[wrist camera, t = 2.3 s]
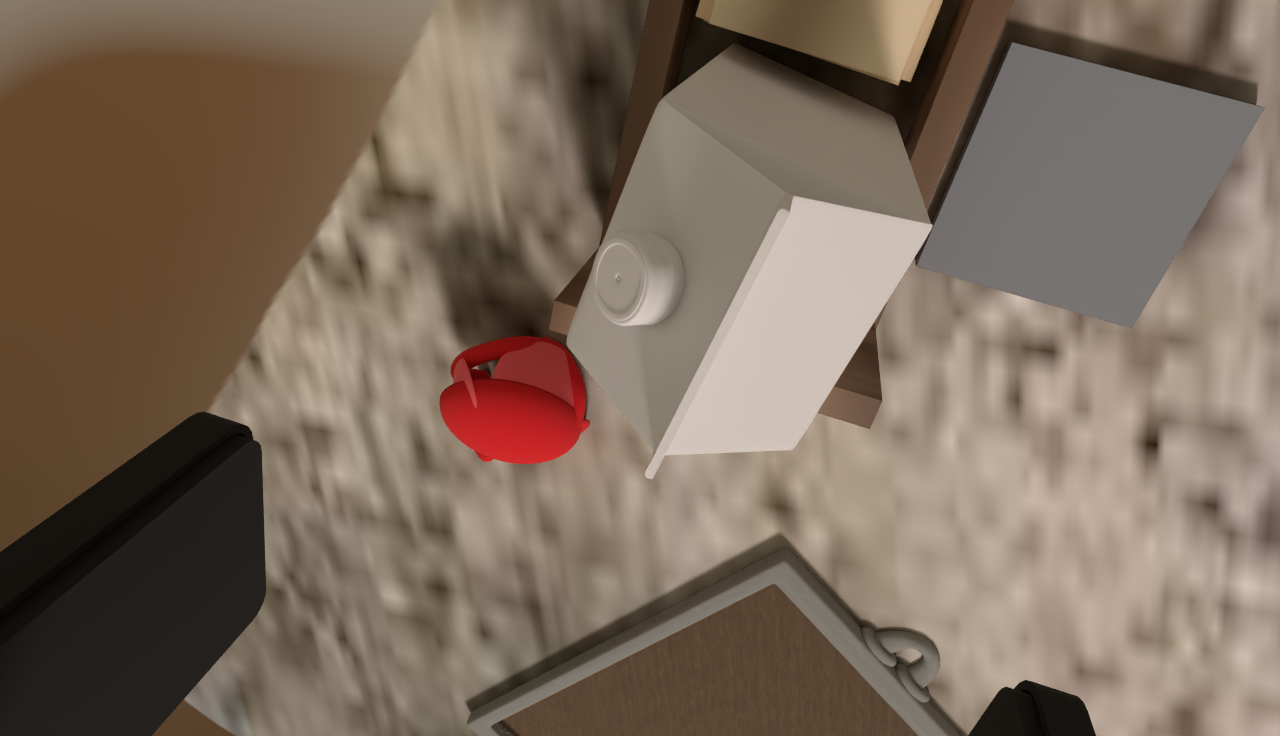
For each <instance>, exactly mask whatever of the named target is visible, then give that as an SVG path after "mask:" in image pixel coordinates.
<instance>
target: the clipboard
mask: <svg viewBox="0 0 1280 736" xmlns="http://www.w3.org/2000/svg"><path fill="white" fill-rule="evenodd" d="M906 648H913V649H916V650H918V651H919V652H921V654H922V655H923V658H922V660H921V661H919V662H918V663H916V664H914V665H912V666H910V667H906V666H905V665H904V664H901V663H897V660H896V656H895V654H894V652H897V651H899V650H902V649H906ZM939 667H940V657H939V653H938V650H937V649H936V647H935V646H934V644H932V643H931V642H930V641H929V640H928V639H926V638H924V637H922V636H920V635H917V634H914V633H912V632H906V631H895V630H893V631H882V632H876V633H875V632H874V631H873V630H872V629H871V628H869V627H866V626H864V627H862V628H861V627H860V626H859V625H858V624H857V623H856V622H855V621H854V620H853V618H852V617H851V616H850V615H849V614H848V613H847V612H846V611H845V610H844V609H843V608H842V607H841V605H840V604H839V603H838V602H837V601H836V600H835V599H834V598H833V597H832V596H831V595H830V593H829V592H828V591H827V590H826V589H825V588H824V587H823V586H822V585H821V584H820V583H819V582H818V580H817V579H816V578H815V577H814V576H813V575H812V574H811V573H810V572H809V571H808V570H807V568H806V567H805V566H804V565H803V564H802V563H801V562H800V561H799V560H798V559H797V558H796V557H795V556H794V554H793V553H792V552H791V551H790V550H789V549H788V548H785V547H784V548H782V549H780V550H778V551H776V552H774V553H772V554H770V555H768V556H766V557H764V558H762V559H761V560H759V561H757V562H755V563H753V564H751V565H749V566H747V567H745V568H743V569H741V570H740V571H738V572H736V573H734V574H732V575H730V576H728V577H726V578H724V579H722V580H721V581H719V582H717V583H715V584H713V585H711V586H709V587H707V588H705V589H703V590H702V591H700V592H698V593H696V594H694V595H692V596H690V597H688V598H686V599H684V600H682V601H681V602H679V603H677V604H675V605H673V606H671V607H669V608H667V609H665V610H663V611H662V612H660V613H658V614H656V615H654V616H652V617H650V618H648V619H646V620H644V621H643V622H641V623H639V624H637V625H635V626H633V627H631V628H629V629H627V630H625V631H624V632H622V633H620V634H618V635H616V636H614V637H612V638H610V639H608V640H606V641H604V642H603V643H601V644H599V645H597V646H595V647H593V648H591V649H589V650H587V651H585V652H584V653H582V654H580V655H578V656H576V657H574V658H572V659H570V660H568V661H566V662H565V663H563V664H561V665H559V666H557V667H555V668H553V669H551V670H549V671H547V672H545V673H544V674H542V675H540V676H538V677H536V678H534V679H532V680H530V681H528V682H526V683H525V684H523V685H521V686H519V687H517V688H515V689H513V690H511V691H509V692H507V693H506V694H504V695H502V696H500V697H498V698H496V699H494V700H492V701H490V702H488V703H486V704H485V705H483V706H481V707H479V708H477V709H475V710H474V711H472V712H471V714H470V716H469V718H468V721H467V726H468V727H469V728H470V729H471V730H472V731H474V732H475V733H476V734H477V735H478V736H960V735H959V734H958V732H957V731H956V730H955V729H954V728H953V727H952V726H951V725H950V724H949V723H948V722H947V721H946V719H945V718H944V717H943V716H942V715H941V714H940V713H939V712H938V711H937V710H936V709H935V708H934V706H933V705H932V704H931V703H930V702H929V692H928V690H927V689H926V688H925V686H927V685H928V684H929V683H930V682H931V681H932V680H933V679H934V678H935V676H936V675H937V673H938V670H939Z"/></svg>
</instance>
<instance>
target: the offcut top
mask: <svg viewBox="0 0 1280 736" xmlns="http://www.w3.org/2000/svg"><path fill="white" fill-rule="evenodd" d="M930 2H931V0H715V4H714V7H713V11H712V15H711V18H710V22H709V24H712V25H716V26H719V27H722V28H725V29H729V30H732V31H735V32H739V33H742V34H745V35H748V36H752V37H755V38H758V39H762V40H765V41H768V42H771V43H775V44H778V45H781V46H784V47H788V48H791V49H794V50H798V51H801V52H804V53H807V54H811V55H814V56H817V57H821V58H824V59H827V60H830V61H834V62H837V63H840V64H843V65H847V66H850V67H853V68H857V69H860V70H863V71H866V72H870V73H873V74H876V75H880V76H883V77H886V78H889V79H893V80H896V81H899V79H900V76H901V74H902V71H903V69H904V66H905V64H906V61H907V59H908V57H909V54H910V52H911V49H912V47H913V44H914V42H915V39H916V37H917V34H918V32H919V29H920V27H921V24H922V22H923V19H924V17H925V14H926V12H927V9H928V7H929V4H930Z"/></svg>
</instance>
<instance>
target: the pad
mask: <svg viewBox="0 0 1280 736" xmlns="http://www.w3.org/2000/svg"><path fill="white" fill-rule="evenodd" d="M1264 109H1265V108H1264V107H1261V106H1258V105H1255V104H1251V103H1247V102H1243V101H1239V100H1235V99H1231V98H1228V97H1224V96H1220V95H1216V94H1212V93H1208V92H1204V91H1200V90H1197V89H1193V88H1189V87H1185V86H1181V85H1177V84H1173V83H1170V82H1166V81H1162V80H1158V79H1154V78H1150V77H1146V76H1142V75H1139V74H1135V73H1131V72H1127V71H1123V70H1119V69H1115V68H1112V67H1108V66H1104V65H1100V64H1096V63H1092V62H1088V61H1085V60H1081V59H1077V58H1073V57H1069V56H1065V55H1061V54H1057V53H1054V52H1050V51H1046V50H1042V49H1038V48H1034V47H1030V46H1027V45H1023V44H1019V43H1015V42H1011V41H1009V43H1008V45H1007V48H1006V50H1005V52H1004V55H1003V57H1002V59H1001V62H1000V64H999V66H998V69H997V71H996V73H995V76H994V78H993V80H992V83H991V85H990V87H989V90H988V92H987V95H986V97H985V99H984V102H983V104H982V106H981V109H980V111H979V113H978V116H977V118H976V120H975V123H974V125H973V127H972V130H971V132H970V134H969V137H968V139H967V141H966V144H965V146H964V148H963V151H962V153H961V156H960V158H959V160H958V163H957V165H956V167H955V170H954V172H953V174H952V177H951V179H950V181H949V184H948V186H947V188H946V191H945V193H944V195H943V198H942V200H941V202H940V205H939V207H938V209H937V212H936V214H935V217H934V219H933V221H932V225H933V226H932V229H931V231H930V233H929V234H928V236H927V238H926V240H925V241H924V243H923V245H922V247H921V249H920V252H919V254H918V256H917V259H916V261H915V262H916V266H917V267H921V268H924V269H927V270H931V271H934V272H938V273H941V274H945V275H948V276H952V277H955V278H959V279H962V280H966V281H969V282H973V283H976V284H979V285H983V286H986V287H990V288H993V289H997V290H1000V291H1004V292H1007V293H1011V294H1014V295H1018V296H1021V297H1025V298H1028V299H1032V300H1035V301H1038V302H1042V303H1045V304H1049V305H1052V306H1056V307H1059V308H1063V309H1066V310H1070V311H1073V312H1077V313H1080V314H1084V315H1087V316H1090V317H1094V318H1097V319H1101V320H1104V321H1108V322H1111V323H1115V324H1118V325H1122V326H1125V327H1129V328H1132V327H1133V326H1134V324H1135V322H1136V321H1137V319H1138V317H1139V316H1140V314H1141V312H1142V311H1143V309H1144V307H1145V306H1146V304H1147V302H1148V301H1149V299H1150V297H1151V296H1152V294H1153V292H1154V291H1155V289H1156V287H1157V286H1158V284H1159V283H1160V281H1161V279H1162V278H1163V276H1164V274H1165V273H1166V271H1167V269H1168V268H1169V266H1170V264H1171V263H1172V261H1173V259H1174V258H1175V256H1176V254H1177V253H1178V251H1179V249H1180V248H1181V246H1182V244H1183V243H1184V241H1185V239H1186V238H1187V236H1188V235H1189V233H1190V231H1191V230H1192V228H1193V226H1194V225H1195V223H1196V221H1197V220H1198V218H1199V216H1200V215H1201V213H1202V211H1203V210H1204V208H1205V206H1206V205H1207V203H1208V201H1209V200H1210V198H1211V196H1212V195H1213V193H1214V191H1215V190H1216V188H1217V186H1218V185H1219V183H1220V182H1221V180H1222V178H1223V177H1224V175H1225V173H1226V172H1227V170H1228V168H1229V167H1230V165H1231V163H1232V162H1233V160H1234V158H1235V157H1236V155H1237V153H1238V152H1239V150H1240V148H1241V147H1242V145H1243V143H1244V142H1245V140H1246V138H1247V137H1248V135H1249V133H1250V132H1251V130H1252V129H1253V127H1254V125H1255V124H1256V122H1257V120H1258V119H1259V117H1260V115H1261V114H1262V112H1263V110H1264Z"/></svg>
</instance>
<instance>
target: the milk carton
mask: <svg viewBox="0 0 1280 736" xmlns="http://www.w3.org/2000/svg"><path fill="white" fill-rule="evenodd" d="M932 226H933V225H932V224H931V222H930V219H929V216H928V213H927V210H926V207H925V204H924V202H923V199H922V196H921V193H920V190H919V187H918V184H917V181H916V178H915V176H914V173H913V170H912V167H911V164H910V161H909V158H908V155H907V152H906V149H905V147H904V144H903V141H902V138H901V135H900V132H899V129H898V126H897V123H896V120H895V118H894V117H893V116H892V115H890V114H888V113H886V112H884V111H881V110H879V109H877V108H875V107H873V106H871V105H868V104H866V103H864V102H862V101H860V100H858V99H855V98H853V97H851V96H849V95H847V94H845V93H842V92H840V91H838V90H836V89H834V88H832V87H829V86H827V85H825V84H823V83H821V82H819V81H816V80H814V79H812V78H810V77H808V76H806V75H804V74H801V73H799V72H797V71H795V70H793V69H791V68H788V67H786V66H784V65H782V64H780V63H778V62H775V61H773V60H771V59H769V58H767V57H765V56H762V55H760V54H758V53H756V52H754V51H752V50H749V49H747V48H745V47H743V46H741V45H739V44H736V43H734V44H732V45H731V46H729V47H728V48H727V49H725V50H724V51H723V52H722V53H720V54H719V55H718V56H716V57H715V58H714V59H712V60H711V61H710V62H708V63H707V64H706V65H705V66H703V67H702V68H701V69H699V70H698V71H697V72H695V73H694V74H693V75H691V76H690V77H689V78H688V79H686V80H685V81H684V82H682V83H681V84H680V85H678V86H677V87H676V88H674V89H673V90H672V91H671V92H669V93H668V94H667V95H666V96H665V97H663V98H662V99H661V101H660V102H659V103H658V105H657V107H656V109H655V111H654V114H653V116H652V118H651V121H650V123H649V125H648V128H647V130H646V133H645V135H644V138H643V140H642V143H641V145H640V148H639V150H638V153H637V155H636V158H635V160H634V163H633V165H632V168H631V171H630V173H629V176H628V178H627V181H626V183H625V186H624V189H623V191H622V194H621V196H620V199H619V201H618V204H617V207H616V209H615V212H614V214H613V217H612V219H611V222H610V225H609V227H608V230H607V232H606V235H605V237H604V240H603V242H602V244H601V246H600V247H599V249H598V252H597V254H596V256H595V260H594V263H593V268H592V271H591V273H590V276H589V278H588V281H587V283H586V286H585V289H584V291H583V294H582V296H581V299H580V302H579V304H578V307H577V310H576V312H575V315H574V318H573V320H572V323H571V326H570V329H569V332H568V335H567V344H566V345H567V346H568V348H569V349H570V350H571V352H572V353H573V354H574V355H575V357H576V358H577V359H578V360H579V362H580V363H581V364H582V365H583V366H584V368H585V369H586V370H587V371H588V373H589V374H590V375H591V376H592V378H593V379H594V380H595V381H596V382H597V384H598V385H599V386H600V387H601V389H602V390H603V391H604V392H605V393H606V395H607V396H608V397H609V398H610V400H611V401H612V402H613V403H614V405H615V406H616V407H617V408H618V409H619V411H620V412H621V413H622V414H623V416H624V417H625V418H626V419H627V420H628V422H629V423H630V424H631V425H632V427H633V428H634V429H635V430H636V432H637V433H638V434H639V435H640V436H641V438H642V439H643V440H644V441H645V443H646V444H647V445H648V446H649V447H650V449H651V450H652V451H653V455H652V458H651V461H650V463H649V466H648V468H647V470H646V472H645V476H646V477H647V478H650V479H653V477H654V475H655V473H656V471H657V469H658V468H659V466H660V464H661V462H662V460H663V458H664V456H665V455H681V454H705V453H729V452H753V451H777V450H792V449H793V448H794V447H795V446H796V445H797V443H798V442H799V440H800V439H801V437H802V436H803V434H804V433H805V431H806V430H807V428H808V427H809V425H810V423H811V422H812V420H813V419H814V417H815V415H816V414H817V412H818V411H819V409H820V408H821V406H822V404H823V403H824V401H825V400H826V398H827V396H828V395H829V393H830V392H831V390H832V388H833V387H834V385H835V384H836V382H837V380H838V379H839V377H840V376H841V374H842V372H843V371H844V369H845V368H846V366H847V364H848V363H849V361H850V360H851V358H852V357H853V355H854V353H855V352H856V350H857V349H858V347H859V345H860V344H861V342H862V341H863V339H864V337H865V336H866V334H867V333H868V331H869V329H870V328H871V326H872V325H873V323H874V321H875V320H876V318H877V317H878V315H879V313H880V312H881V310H882V309H883V307H884V306H885V304H886V302H887V301H888V299H889V298H890V296H891V294H892V293H893V291H894V290H895V288H896V286H897V285H898V283H899V282H900V280H901V278H902V277H903V275H904V274H905V272H906V270H907V269H908V267H909V266H910V264H911V262H912V261H913V259H914V258H915V256H916V254H917V253H918V251H919V250H920V248H921V246H922V245H923V243H924V241H925V240H926V238H927V236H928V234H929V233H930V231H931V229H932Z"/></svg>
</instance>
